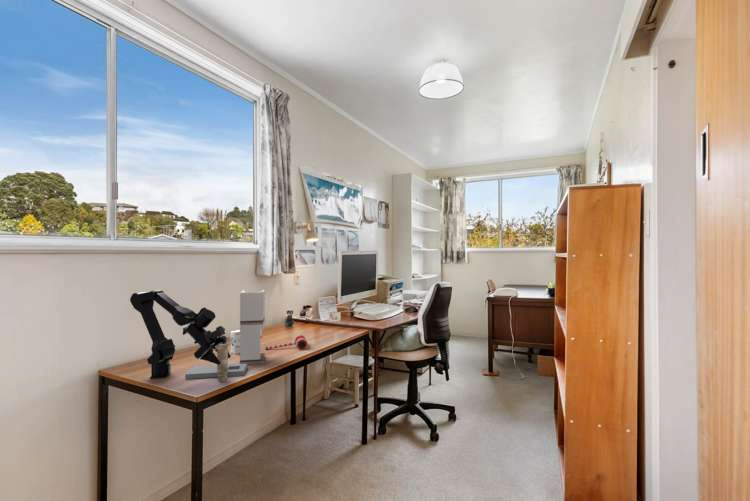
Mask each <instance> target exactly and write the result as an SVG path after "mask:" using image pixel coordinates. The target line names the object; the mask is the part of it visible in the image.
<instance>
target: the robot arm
mask: <svg viewBox="0 0 750 501" xmlns="http://www.w3.org/2000/svg"><path fill="white" fill-rule="evenodd" d="M129 301H130V304H131V306H132V307H133V309H134V310H136V311H137V312H139V313H140V315H141V318H142V320H143V322H144V324H145V327H146V329H147V332H148V334H149V336H150V339H151V341H152V343H151V344H152V345H151V355H149V357H148V358H147V359H146V360H147V363H148V365H151V366H150V367H151V369H150V372H151V373H150V374H151V376H149V378H150V379H159V378H161V379H163V378H167V377H168V376H169V375H170V374H171V373H172V372H171V371H172V370H171V369H172V367H171V366H172V365H171V363H170V361H171V360H173V357H174V355H175V353H176V345H175V343H174V340H173V339H172V338H169V339H168V338H167V337H165V336H166V335H165V334H164V332H163V329H162V327H161V325H160V322H159V320H158V318H157V315H156V313H155V310H154V305H155V304H154V303H156V304H158V305H159V306H160V307H161V308H162V309H164V310H165V311H166V312H168V313H169V314H170V315H171V317H172V320H173V321H174V322H175V323H176V324H177V325H178V326H180V327H183V326H184V327H183V328H182V336H185V335H186V334H189V336H190V337H191V338H192V339H193V340H194V342H193V343H194V344H198V345H199V347H198V348H197V349H196V351H195V352H193V354H194V356H193V357H194V358H196V360H203V361H205V362H209V363H213V364H214V365H217V364H218V365H219V364H220V363H221V362H220V361H219V359H218V358H217V354H215V353H214V351H215V352H216V353H217V345H219V344H227V341H228V337H226V336H225V335H226V332H225V330H226V328H225V327H224V326H222V325H219V326H217V327H216V328H215V330H212V331H211V330H206V328H208V327H209V326H210V324H211V323H212V322H213V321H214V320H215V318H216V313H215V312H214V311H212V310H211V309H207V307H201V309H200V310H199V311H198V313H196V312H195V311H193V309H190V308H188V307H185V306H182V305H180V304H179V303H177V302H176V301H174V299H172V298H171V297H170V296H169V295H167V294H166V293H165V292H164V290H163V289H155V290H154V289H153V290H151V291H141V292H134V293H132V294H131V296H130V298H129ZM185 326H186V327H185ZM230 358H231V354H230V352H229V351H228V359H230Z"/></svg>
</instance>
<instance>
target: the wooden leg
mask: <svg viewBox="0 0 750 501" xmlns="http://www.w3.org/2000/svg"><path fill="white" fill-rule="evenodd" d="M228 352H229V344H227V343H226V344H219V345H217V352H216V357H217V358H218V359H219V361H220V362H221V363H220V364H219V365H218V364H216V365H217V374H218V377H217V379H218V382H226V381H227V378H228V376H227V373H228V365H229V364H228V363H229V358H228Z"/></svg>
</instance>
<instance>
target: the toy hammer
mask: <svg viewBox="0 0 750 501" xmlns="http://www.w3.org/2000/svg"><path fill="white" fill-rule="evenodd" d="M306 339H307V338H306V337H305V335H303V334H297V335H296V336H295V337H294V342H288V343H287V342H286V343H284V344H283V343H282V344H277V345H272V346H265V351H268V350H273V349H278V348H283V347H289V346H293V345H294V346H296V348H297V350H299V351H302V350H303V349H305V350H306V349H307V348H308V346H309V345H308V344H309V342H308V341H307V340H306Z"/></svg>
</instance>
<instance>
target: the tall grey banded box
mask: <svg viewBox="0 0 750 501" xmlns="http://www.w3.org/2000/svg"><path fill="white" fill-rule="evenodd" d="M265 293H266V291H265V289H262V290H260V291H246V289H244V290H242V291H240V293H239V330H240V353H239V364H247V365H256V364H263V363H264V360H265V356H266V355H265V352H261V344H262V343H261V339H262V338H263V327H264V326H265V324H266V322H265V321H266V320H265V313H266V311H265V308H266V307H265V305H266V303H265V300H266V297H265V295H266V294H265Z"/></svg>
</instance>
